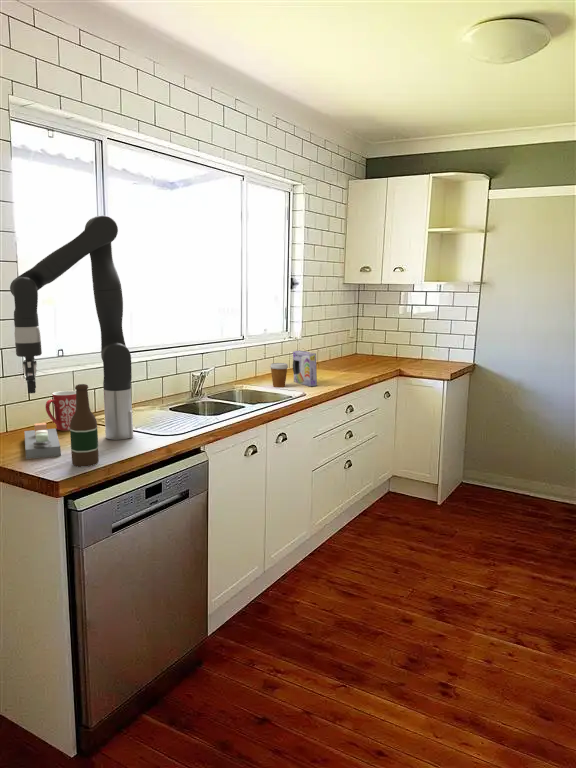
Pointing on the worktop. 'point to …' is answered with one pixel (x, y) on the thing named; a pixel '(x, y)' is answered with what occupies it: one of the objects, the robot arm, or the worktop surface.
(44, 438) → the green push button
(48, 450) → the control panel
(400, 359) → the worktop surface
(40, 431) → the cream push button
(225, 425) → the worktop surface
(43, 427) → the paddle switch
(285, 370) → the disposable coffee cup
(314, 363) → the cake pan box
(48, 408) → the mug
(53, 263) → the robot arm
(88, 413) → the beer bottle
